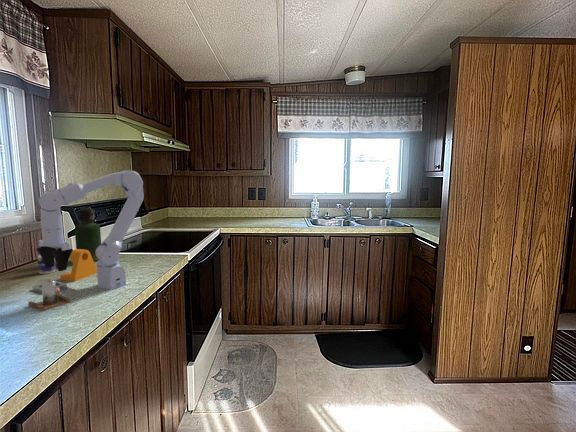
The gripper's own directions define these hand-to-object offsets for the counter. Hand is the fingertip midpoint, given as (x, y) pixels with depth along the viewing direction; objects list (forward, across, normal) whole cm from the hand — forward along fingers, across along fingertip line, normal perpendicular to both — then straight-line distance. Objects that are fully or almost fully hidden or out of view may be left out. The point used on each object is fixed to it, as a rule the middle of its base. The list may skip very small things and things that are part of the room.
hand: (56, 268), depth 109 cm
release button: (+10, -1, 0) cm, 10 cm away
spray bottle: (+10, -37, +33) cm, 51 cm away
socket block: (+10, -6, +1) cm, 11 cm away
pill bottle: (+10, -34, +13) cm, 38 cm away
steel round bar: (+9, +7, -6) cm, 12 cm away
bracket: (+10, -14, +15) cm, 23 cm away
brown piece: (+10, +7, -6) cm, 13 cm away
